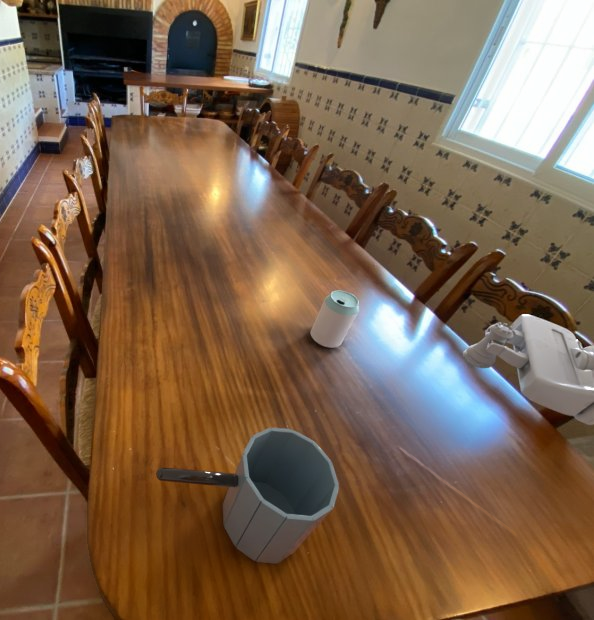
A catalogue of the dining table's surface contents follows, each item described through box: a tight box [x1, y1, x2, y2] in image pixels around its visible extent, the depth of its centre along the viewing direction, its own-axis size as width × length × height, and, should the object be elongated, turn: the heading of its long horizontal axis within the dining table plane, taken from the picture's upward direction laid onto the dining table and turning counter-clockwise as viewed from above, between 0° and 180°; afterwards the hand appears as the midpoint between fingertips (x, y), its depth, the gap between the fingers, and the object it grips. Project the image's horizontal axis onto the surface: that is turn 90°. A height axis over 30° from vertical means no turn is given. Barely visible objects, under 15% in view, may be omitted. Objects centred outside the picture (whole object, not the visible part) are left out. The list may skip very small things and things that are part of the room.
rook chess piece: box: [462, 321, 515, 369], centre depth 61 cm, size 4×4×8 cm
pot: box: [155, 427, 340, 565], centre depth 47 cm, size 21×11×15 cm, turn 87°
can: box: [310, 290, 360, 349], centre depth 79 cm, size 7×7×12 cm
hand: (487, 338), depth 61 cm, fingers closed on rook chess piece, 3 cm apart
